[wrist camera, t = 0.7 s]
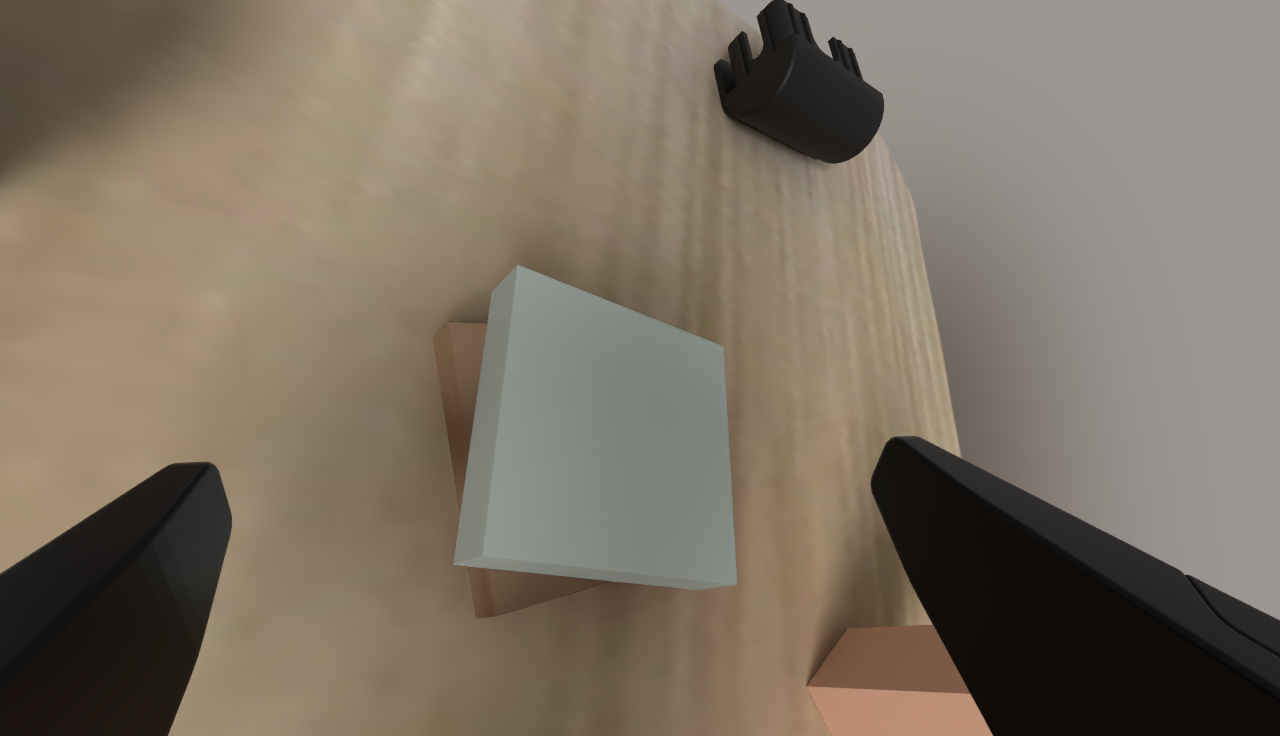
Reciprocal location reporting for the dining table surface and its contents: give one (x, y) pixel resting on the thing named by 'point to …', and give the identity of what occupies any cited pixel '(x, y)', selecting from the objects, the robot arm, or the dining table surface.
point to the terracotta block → (894, 686)
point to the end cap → (799, 88)
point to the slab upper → (597, 444)
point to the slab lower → (459, 389)
